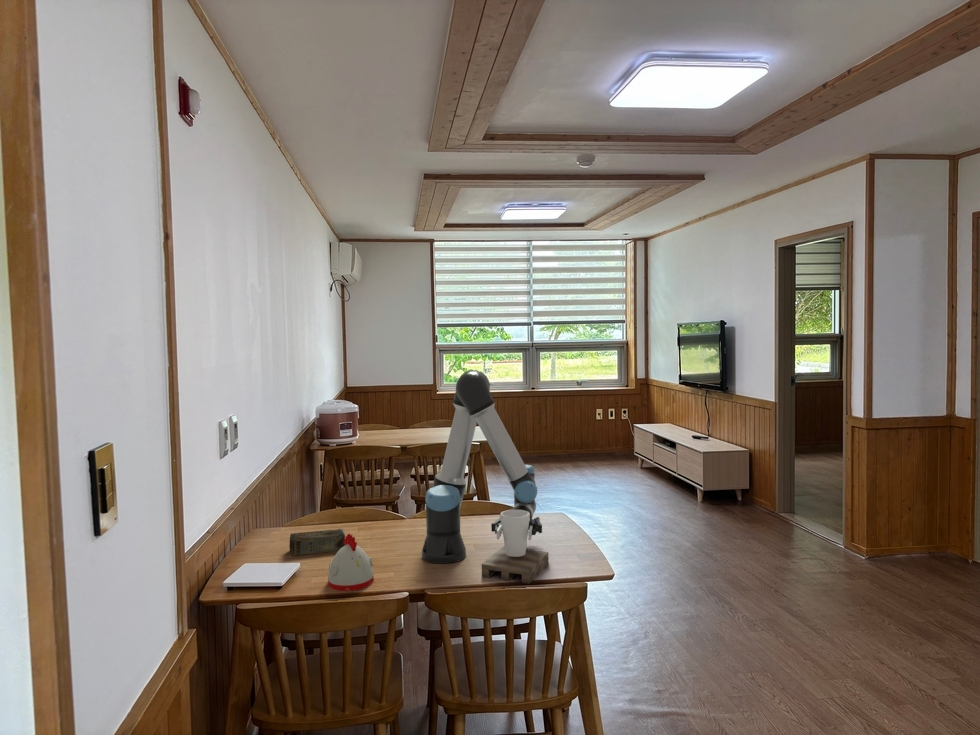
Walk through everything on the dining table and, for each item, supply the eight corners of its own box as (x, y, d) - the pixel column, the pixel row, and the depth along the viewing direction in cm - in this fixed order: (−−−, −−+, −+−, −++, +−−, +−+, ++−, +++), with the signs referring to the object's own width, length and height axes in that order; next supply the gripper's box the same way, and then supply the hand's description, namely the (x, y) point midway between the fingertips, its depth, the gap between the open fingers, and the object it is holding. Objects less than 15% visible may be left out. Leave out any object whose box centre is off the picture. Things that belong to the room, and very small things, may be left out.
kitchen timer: (338, 594, 186) (337, 544, 185) (321, 580, 197) (319, 533, 197) (381, 583, 194) (380, 535, 194) (362, 570, 205) (361, 525, 205)
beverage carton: (346, 551, 225) (345, 532, 225) (289, 557, 219) (289, 539, 219) (344, 544, 233) (343, 526, 233) (289, 550, 227) (289, 532, 227)
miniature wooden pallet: (529, 583, 192) (529, 570, 191) (481, 576, 198) (481, 563, 198) (548, 564, 208) (548, 552, 208) (504, 557, 215) (503, 546, 214)
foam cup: (536, 553, 202) (535, 513, 201) (513, 560, 196) (513, 519, 196) (517, 546, 209) (516, 507, 209) (495, 552, 204) (494, 513, 203)
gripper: (553, 527, 219) (548, 548, 196) (490, 525, 222) (479, 546, 200) (552, 505, 218) (548, 524, 196) (490, 504, 222) (479, 522, 200)
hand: (513, 535), depth 198 cm, fingers closed on foam cup, 9 cm apart
